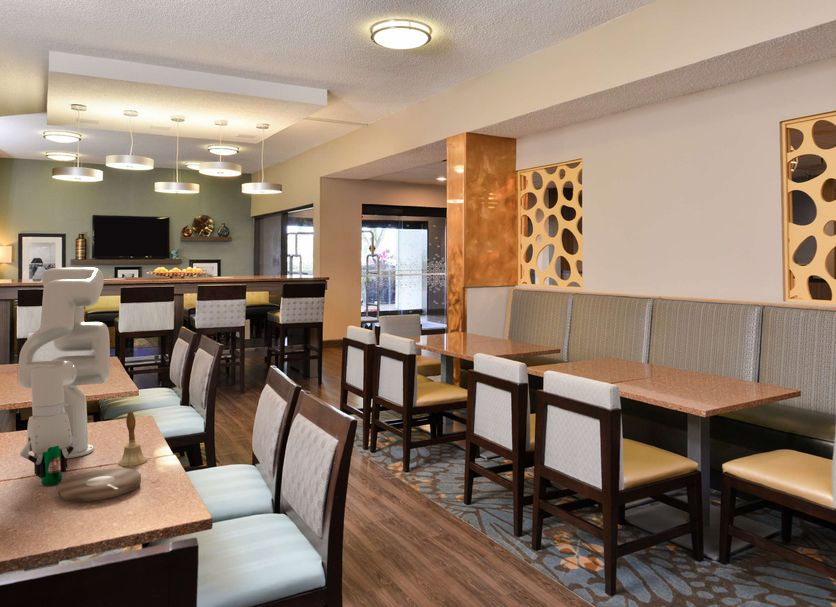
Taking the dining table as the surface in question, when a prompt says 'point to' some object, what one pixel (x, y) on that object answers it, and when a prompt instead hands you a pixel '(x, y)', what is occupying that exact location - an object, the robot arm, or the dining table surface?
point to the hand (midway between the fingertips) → (51, 473)
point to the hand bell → (132, 446)
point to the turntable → (99, 484)
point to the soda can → (52, 466)
